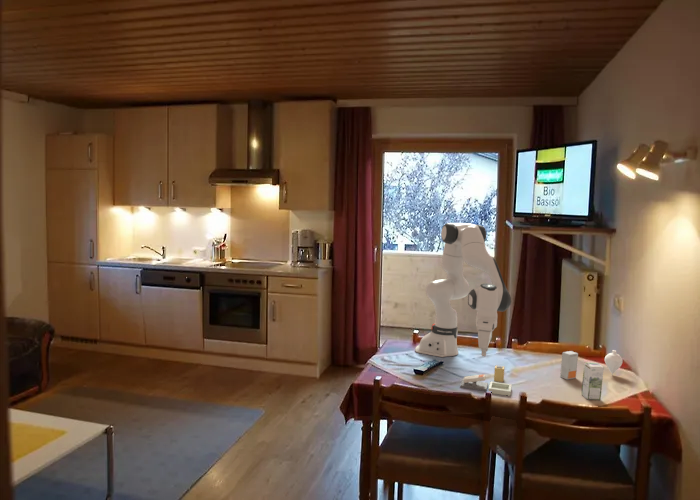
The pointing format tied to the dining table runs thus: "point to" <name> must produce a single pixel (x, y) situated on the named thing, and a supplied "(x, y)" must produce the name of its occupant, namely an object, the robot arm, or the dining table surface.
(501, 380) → the lockout cap
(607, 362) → the spinning top
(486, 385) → the switch base
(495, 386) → the socket
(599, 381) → the syrup box
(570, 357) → the skincare box
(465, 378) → the rocker
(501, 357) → the dining table surface
